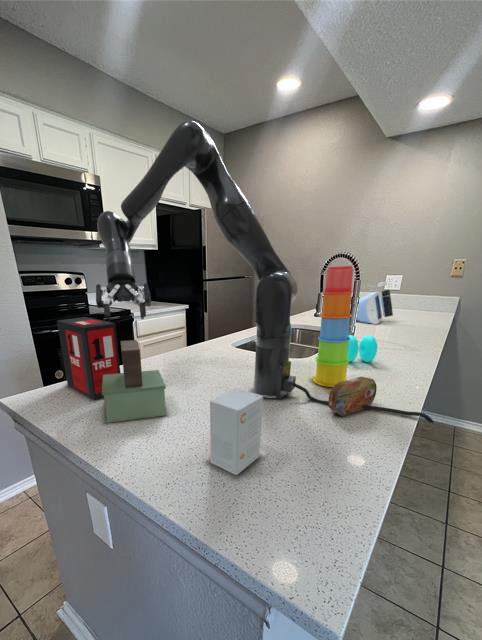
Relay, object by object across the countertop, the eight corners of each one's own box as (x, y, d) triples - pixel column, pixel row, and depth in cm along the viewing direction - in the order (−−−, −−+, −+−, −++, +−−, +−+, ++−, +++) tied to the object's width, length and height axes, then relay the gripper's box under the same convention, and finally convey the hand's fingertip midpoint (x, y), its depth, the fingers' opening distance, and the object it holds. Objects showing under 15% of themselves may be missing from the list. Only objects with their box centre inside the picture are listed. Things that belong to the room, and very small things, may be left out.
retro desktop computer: (388, 279, 199) (391, 280, 185) (393, 316, 205) (396, 320, 190) (344, 290, 210) (344, 292, 196) (350, 325, 216) (350, 329, 201)
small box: (234, 445, 67) (235, 387, 62) (260, 456, 63) (264, 395, 58) (209, 463, 61) (209, 400, 56) (236, 476, 57) (238, 410, 52)
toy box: (160, 396, 91) (158, 369, 88) (167, 415, 80) (165, 385, 77) (106, 402, 87) (102, 374, 84) (105, 423, 76) (101, 392, 73)
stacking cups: (329, 390, 95) (346, 266, 83) (306, 379, 104) (319, 265, 92) (354, 385, 99) (375, 265, 87) (330, 375, 108) (345, 265, 96)
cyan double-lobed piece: (375, 365, 118) (381, 338, 114) (348, 365, 118) (352, 338, 115) (363, 357, 127) (368, 332, 124) (338, 357, 127) (342, 332, 124)
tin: (333, 418, 78) (338, 386, 75) (323, 413, 81) (328, 382, 78) (374, 406, 84) (380, 376, 81) (364, 402, 87) (369, 373, 84)
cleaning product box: (67, 385, 99) (56, 320, 92) (94, 378, 105) (85, 316, 98) (94, 400, 89) (84, 328, 82) (122, 391, 95) (115, 323, 88)
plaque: (123, 374, 84) (120, 340, 81) (139, 373, 86) (137, 339, 82) (125, 387, 76) (121, 350, 72) (143, 386, 77) (140, 349, 73)
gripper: (92, 260, 85) (95, 310, 79) (146, 260, 89) (153, 308, 83) (95, 280, 92) (99, 327, 86) (145, 279, 96) (152, 324, 89)
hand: (126, 318), depth 84 cm, fingers open, 8 cm apart
